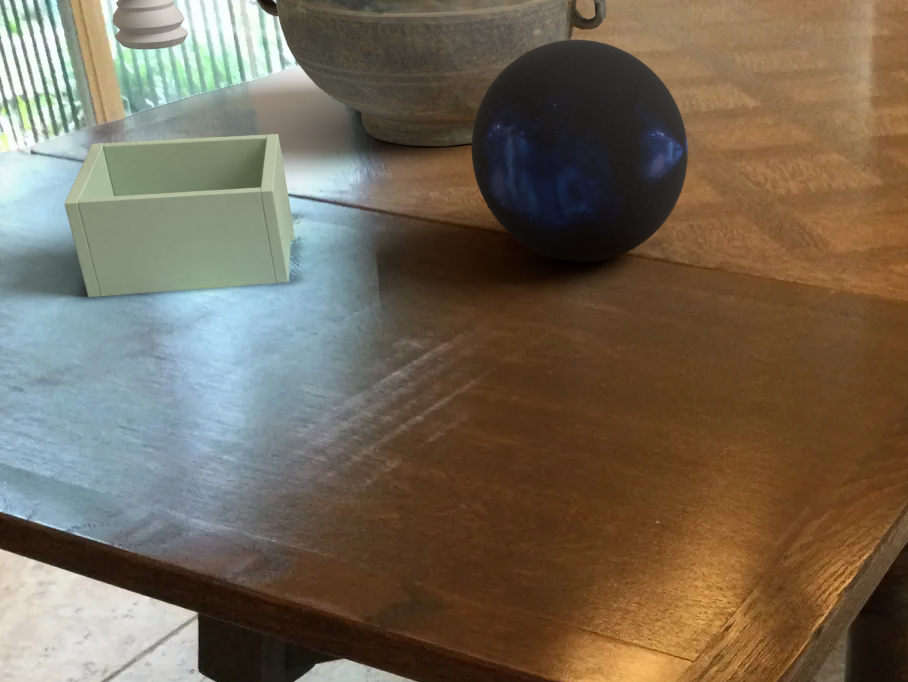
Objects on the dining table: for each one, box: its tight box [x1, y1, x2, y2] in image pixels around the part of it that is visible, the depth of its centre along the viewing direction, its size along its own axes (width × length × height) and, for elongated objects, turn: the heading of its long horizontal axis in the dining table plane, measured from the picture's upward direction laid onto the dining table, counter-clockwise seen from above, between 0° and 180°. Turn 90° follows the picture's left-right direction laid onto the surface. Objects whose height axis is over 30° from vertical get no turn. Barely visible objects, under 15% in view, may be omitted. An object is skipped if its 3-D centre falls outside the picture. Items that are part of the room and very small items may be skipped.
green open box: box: [64, 133, 296, 298], centre depth 93 cm, size 13×13×8 cm
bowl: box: [256, 0, 608, 147], centre depth 121 cm, size 32×26×15 cm
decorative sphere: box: [471, 39, 689, 263], centre depth 95 cm, size 15×15×15 cm
